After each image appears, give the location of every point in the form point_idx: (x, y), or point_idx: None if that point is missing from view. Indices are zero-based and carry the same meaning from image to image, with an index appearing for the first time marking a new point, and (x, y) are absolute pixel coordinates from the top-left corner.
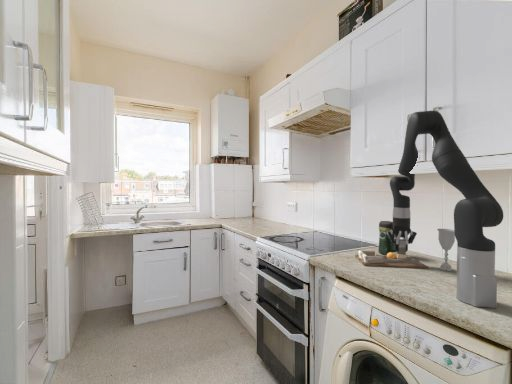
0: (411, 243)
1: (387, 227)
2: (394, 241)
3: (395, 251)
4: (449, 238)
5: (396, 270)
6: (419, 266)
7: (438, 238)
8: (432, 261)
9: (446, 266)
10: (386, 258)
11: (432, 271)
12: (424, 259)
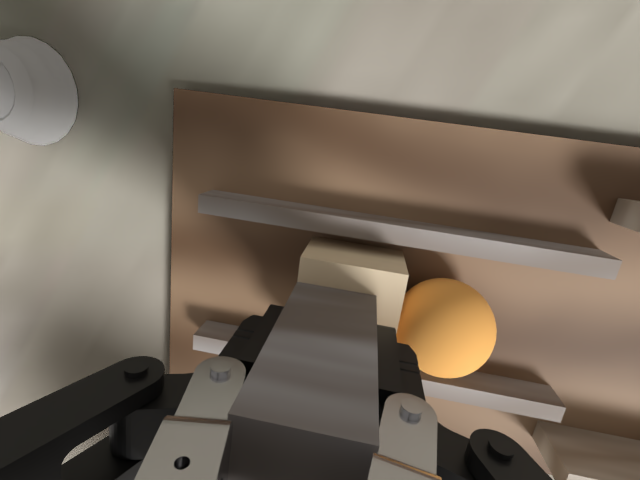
0: (142, 358)
1: None
2: (474, 451)
3: None
4: None
5: (573, 10)
6: (258, 100)
7: None
8: (35, 314)
9: (9, 50)
10: None
11: (192, 2)
12: (71, 369)
